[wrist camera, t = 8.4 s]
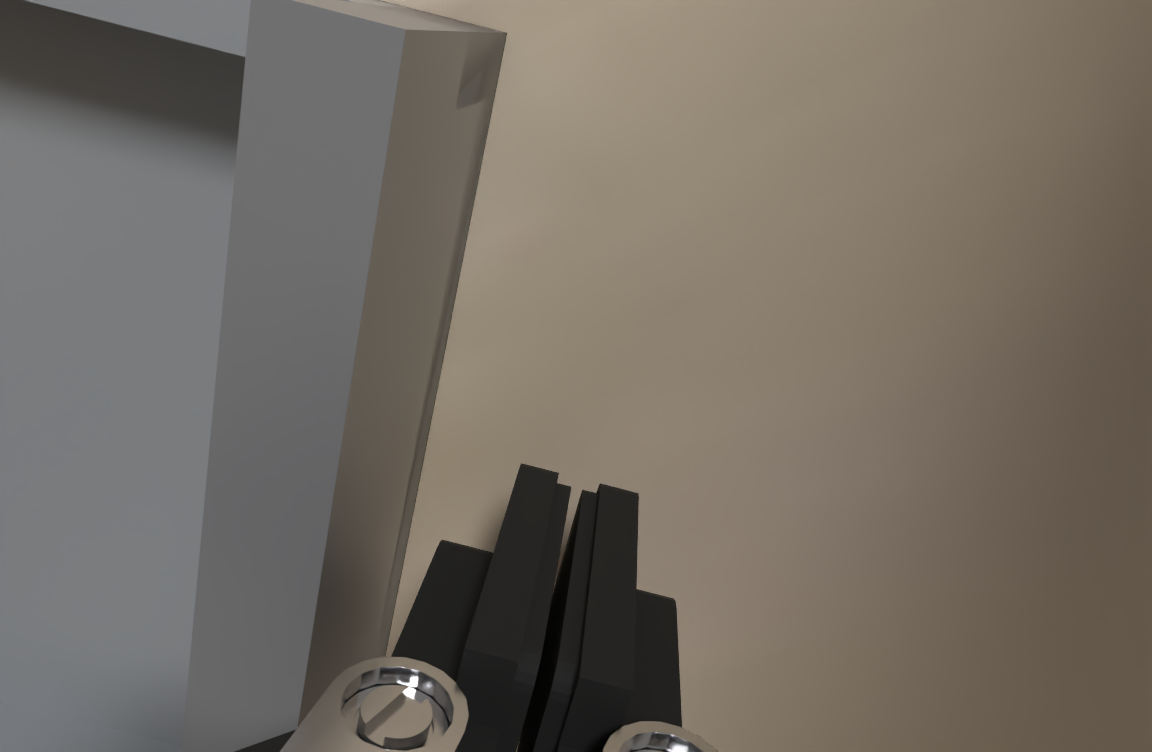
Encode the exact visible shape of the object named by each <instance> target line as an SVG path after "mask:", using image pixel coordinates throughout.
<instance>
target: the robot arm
mask: <svg viewBox="0 0 1152 752" xmlns="http://www.w3.org/2000/svg"><path fill="white" fill-rule="evenodd" d="M558 474H559V473H557V472H553V471H549V470H545V469H541V468H537V467H533V466H529V465H525V464H522V463H521V465H520V468H519V471H518V475H517V478H516V481H515V484H514V488H513V491H512V494H511V497H510V501H509V504H508V507H507V511H506V514H505V517H504V520H503V524H502V527H501V530H500V533H499V537H498V540H497V543H496V546H495V550H494V553H492V552H488V551H484V550H480V549H476V548H473V547H469V546H465V545H461V544H457V543H453V542H449V541H445V540H441V541H440V543H439V545H438V547H437V549H436V552H435V554H434V557H433V559H432V561H431V564H430V566H429V568H428V571H427V573H426V576H425V578H424V580H423V583H422V585H421V587H420V590H419V592H418V595H417V597H416V599H415V602H414V604H413V607H412V609H411V611H410V614H409V616H408V618H407V621H406V623H405V626H404V628H403V630H402V633H401V635H400V637H399V640H398V642H397V645H396V647H395V649H394V652H393V654H392V656H391V657H379V658H374V659H369V660H364V661H362V662H360V663H358V664H356V665H353V666H351V667H349V668H347V669H345V670H344V671H343V672H342V673H341V674H340V675H339V676H338V677H337V678H336V679H335V680H334V681H333V682H332V683H331V684H330V686H329V687H328V688H327V690H326V691H325V692H324V694H323V695H322V696H321V698H320V699H319V700H318V702H317V703H316V704H315V705H314V707H313V708H312V709H311V711H310V712H309V713H308V715H307V716H306V717H305V719H304V720H303V721H302V723H301V724H300V725H299V727H298V728H297V729H296V730H293V731H290V732H288V733H285V734H282V735H279V736H276V737H274V738H271V739H268V740H265V741H262V742H260V743H257V744H254V745H251V746H248V747H246V748H243V749H240V750H237V751H234V752H516V748H517V745H518V741H519V745H518V750H517V752H718V751H717V750H716V749H715V748H714V747H712V746H711V745H710V744H708V743H707V742H706V741H705V740H703V739H702V738H701V737H699V736H698V735H695V734H693V733H691V732H689V731H687V730H685V729H683V728H682V716H681V695H680V674H679V652H678V631H677V610H676V602H675V600H674V599H673V598H669V597H665V596H661V595H657V594H653V593H649V592H645V591H641V590H637V589H636V581H637V541H638V501H639V496H638V493H635V492H631V491H627V490H623V489H619V488H615V487H611V486H607V485H604V484H600V485H599V487H598V490H597V493H593V492H589V491H585V490H582V493H581V496H580V499H579V503H578V506H577V510H576V513H575V517H574V521H573V524H572V528H571V531H570V535H569V538H568V542H567V545H566V549H565V553H564V556H563V560H562V563H561V567H560V570H559V574H558V577H557V581H556V585H555V588H554V582H555V576H556V571H557V565H558V559H559V554H560V548H561V543H562V537H563V531H564V526H565V520H566V514H567V509H568V503H569V497H570V492H571V487H570V486H566V485H562V484H558V483H557V479H558ZM553 588H554V592H553ZM552 593H553V595H552ZM519 738H520V740H519Z"/></svg>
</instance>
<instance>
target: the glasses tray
mask: <svg viewBox="0 0 1152 752" xmlns="http://www.w3.org/2000/svg"><path fill="white" fill-rule="evenodd" d="M506 35H507V33H505V32H501V31H497V30H493V29H489V28H486V27H482V26H478V25H474V24H470V23H466V22H462V21H458V20H455V19H451V18H447V17H443V16H439V15H435V14H431V13H427V12H424V11H420V10H416V9H412V8H408V7H404V6H400V5H396V4H392V3H389V2H385V1H381V0H0V752H234V751H237V750H240V749H243V748H246V747H248V746H251V745H254V744H257V743H260V742H262V741H265V740H268V739H271V738H274V737H276V736H279V735H282V734H285V733H288V732H290V731H293V730H296V729H297V728H298V727H299V725H300V724H301V723H302V721H303V720H304V719H305V717H306V716H307V715H308V713H309V712H310V711H311V709H312V708H313V707H314V705H315V704H316V703H317V702H318V700H319V699H320V698H321V696H322V695H323V694H324V692H325V691H326V690H327V688H328V687H329V686H330V684H331V683H332V682H333V681H334V680H335V679H336V678H337V677H338V676H339V675H340V674H341V673H342V672H343V671H344V670H345V669H347V668H349V667H351V666H353V665H356V664H358V663H360V662H362V661H364V660H369V659H374V658H379V657H385V654H386V649H387V644H388V639H389V634H390V629H391V624H392V618H393V613H394V608H395V603H396V598H397V593H398V588H399V583H400V578H401V572H402V567H403V562H404V557H405V552H406V547H407V542H408V537H409V532H410V526H411V521H412V516H413V511H414V506H415V501H416V496H417V491H418V485H419V480H420V475H421V470H422V465H423V460H424V455H425V450H426V445H427V439H428V434H429V429H430V424H431V419H432V414H433V409H434V404H435V399H436V393H437V388H438V383H439V378H440V373H441V368H442V363H443V358H444V352H445V347H446V342H447V337H448V332H449V327H450V322H451V317H452V312H453V306H454V301H455V296H456V291H457V286H458V281H459V276H460V271H461V265H462V260H463V255H464V250H465V245H466V240H467V235H468V230H469V225H470V219H471V214H472V209H473V204H474V199H475V194H476V189H477V184H478V179H479V173H480V168H481V163H482V158H483V153H484V148H485V143H486V138H487V132H488V127H489V122H490V117H491V112H492V107H493V102H494V97H495V92H496V86H497V81H498V76H499V71H500V66H501V61H502V56H503V51H504V46H505V40H506Z"/></svg>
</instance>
